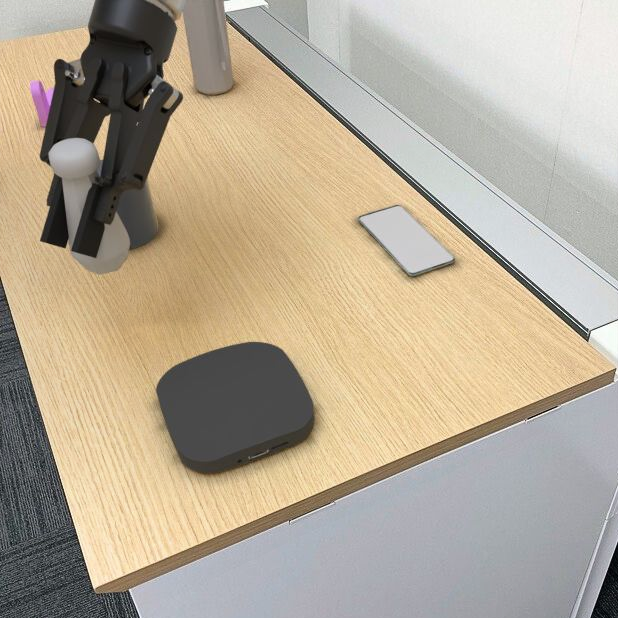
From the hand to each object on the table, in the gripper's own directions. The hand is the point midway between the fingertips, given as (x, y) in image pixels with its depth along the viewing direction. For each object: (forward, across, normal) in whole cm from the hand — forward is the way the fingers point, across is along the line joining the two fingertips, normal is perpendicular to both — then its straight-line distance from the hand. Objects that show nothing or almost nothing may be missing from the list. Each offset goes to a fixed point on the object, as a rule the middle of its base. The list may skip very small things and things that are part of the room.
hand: (68, 249), depth 69 cm
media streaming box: (+12, -15, -14) cm, 24 cm away
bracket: (-22, +51, -49) cm, 74 cm away
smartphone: (-14, -19, -40) cm, 46 cm away
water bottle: (-35, +30, -61) cm, 76 cm away
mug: (-4, +18, -30) cm, 35 cm away
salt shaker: (0, 0, -6) cm, 6 cm away
